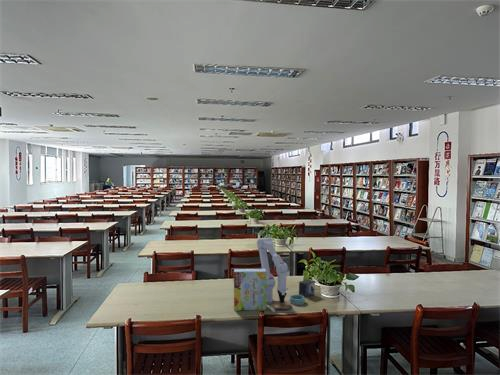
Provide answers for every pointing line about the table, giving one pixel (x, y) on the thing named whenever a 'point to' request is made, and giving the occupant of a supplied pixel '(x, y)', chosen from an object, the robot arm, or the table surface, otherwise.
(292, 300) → the bowl
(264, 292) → the snack box
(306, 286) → the small box
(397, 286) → the table surface
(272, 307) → the mat
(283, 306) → the cover
